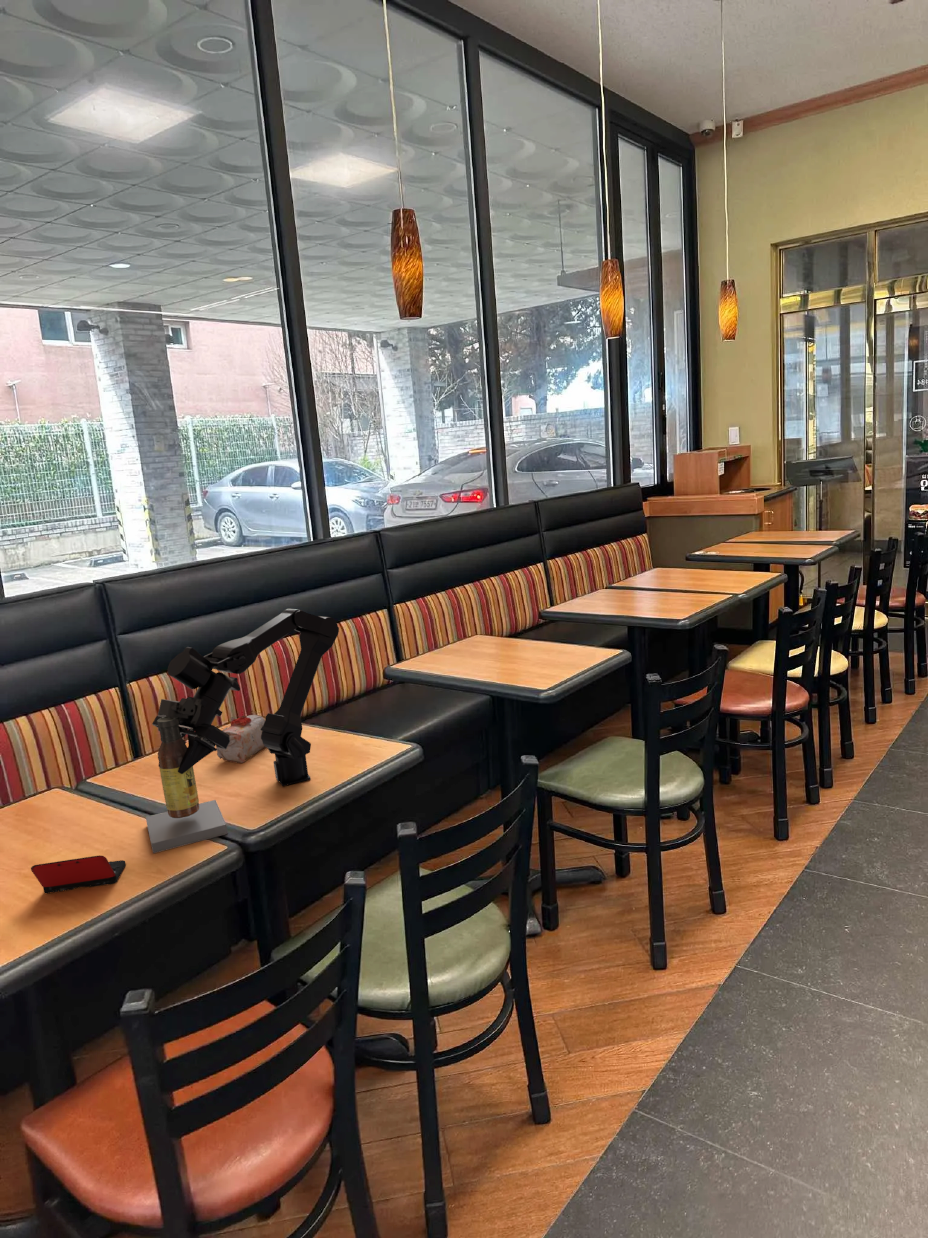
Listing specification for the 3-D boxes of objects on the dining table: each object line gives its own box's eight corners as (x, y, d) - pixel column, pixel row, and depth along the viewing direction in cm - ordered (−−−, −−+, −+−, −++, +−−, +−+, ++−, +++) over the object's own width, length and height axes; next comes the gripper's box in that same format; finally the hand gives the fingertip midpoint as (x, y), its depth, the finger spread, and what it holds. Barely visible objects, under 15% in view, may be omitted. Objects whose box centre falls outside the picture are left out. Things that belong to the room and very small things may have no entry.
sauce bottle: (200, 816, 164) (183, 721, 160) (166, 822, 163) (149, 726, 159) (200, 803, 171) (185, 711, 166) (168, 809, 169) (152, 716, 165)
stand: (216, 808, 176) (215, 799, 176) (227, 833, 164) (226, 824, 163) (147, 825, 171) (145, 816, 170) (153, 853, 158) (151, 843, 158)
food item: (244, 765, 200) (238, 727, 198) (215, 764, 202) (209, 726, 200) (273, 745, 213) (268, 708, 211) (246, 744, 215) (240, 708, 213)
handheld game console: (128, 864, 155) (121, 828, 154) (112, 894, 145) (104, 855, 143) (58, 874, 154) (50, 837, 152) (36, 905, 143) (28, 866, 142)
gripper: (152, 676, 170) (112, 746, 164) (207, 686, 158) (166, 761, 152) (191, 701, 177) (155, 768, 171) (247, 712, 166) (209, 785, 160)
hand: (170, 770), depth 164 cm, fingers closed on sauce bottle, 6 cm apart
